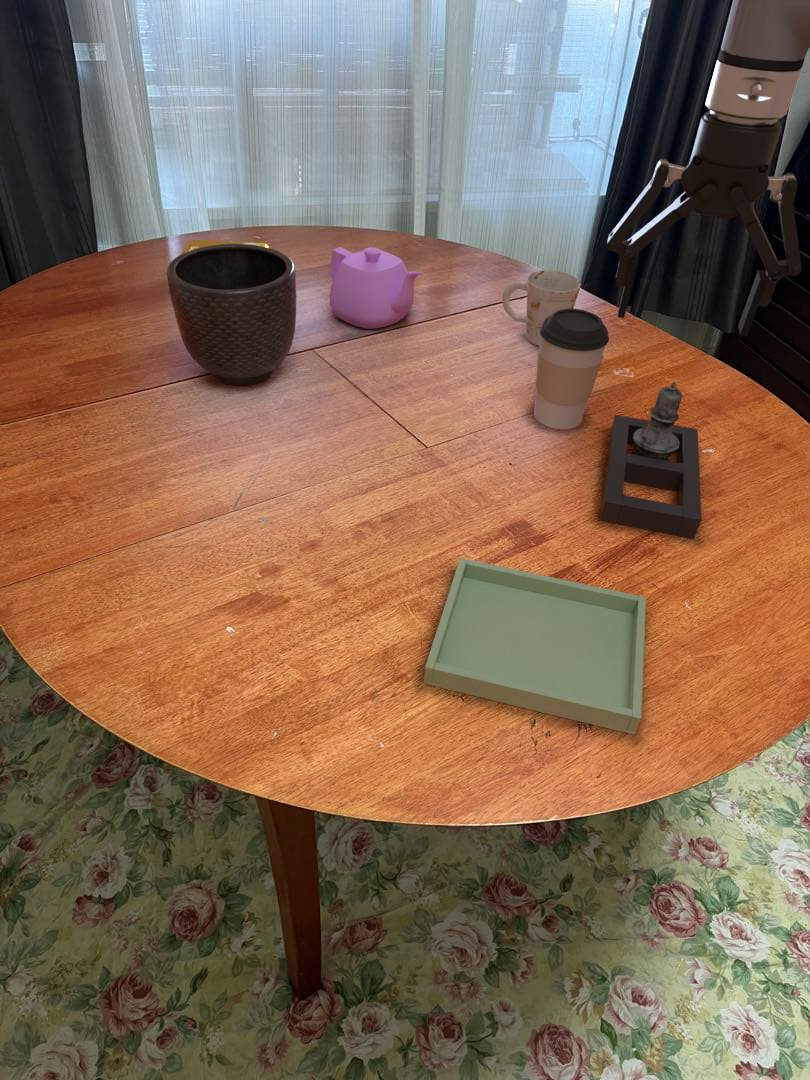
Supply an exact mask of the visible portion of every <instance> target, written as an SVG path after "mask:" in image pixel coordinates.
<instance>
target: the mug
mask: <svg viewBox="0 0 810 1080" xmlns="http://www.w3.org/2000/svg"><path fill="white" fill-rule="evenodd" d="M526 280H527V282H526V281H521V280H516V281H512V282H510V284H508V285H507V287H505V288H504V291H503V293H502V298H501V302H502V306H503V308H504V311H505V312H506V313H507V315H508V316H509V317H510V319H513V320H514V321H516V322H518V323H525V338H526V340H527V341H528V342H529V343H531V344H532V345H535V346H538V347H539V346H540V341H541V334H540V328H541V327H542V325H543V322H544V320H545V319H546V318H547V317H549V316H551V315H553V314H554V313H555V312H556V311H558V310H562V309H575V304H576V301H577V298H578V296H579V294H580V293H579V292H580V289H581V286H582V284H581V280H580V278H578V277H577V276H575V275H574V274H572V273H568V272H565V271H560V270H554V269H553V270H552V269H543V270H537V271H533V272H531V273H530V274H529V275H528V276H527V279H526ZM516 290H522V291H525V292H526V317H525V316H521V315H518V314H517V313H516V312H515V311H514V310H513V308H512V306H511V303H510V302H511V301H510V298H511V295H512V294H513V293H514V292H515V291H516Z"/></svg>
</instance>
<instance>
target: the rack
mask: <svg viewBox="0 0 810 1080" xmlns="http://www.w3.org/2000/svg"><path fill="white" fill-rule="evenodd" d="M649 421H650V420H647V419H642V418H637V417H636V418H635V417H630V416H626V415H619V414H614V416H613V421H612V425H611V427H610V432H609V439H608V447H607V455H606V463H605V474H604V481H603V488H602V489H603V490H602V498H601V505H600V506H601V507H600V514H599V521H600V522H604V523H609V524H614V525H620V526H625V527H630V528H635V529H640V530H645V531H650V532H656V533H660V534H665V535H670V536H677V537H680V538H686V539H691V540H694V539H696V536H697V532H698V530H699V527H700V525H701V522H702V501H701V499H702V498H701V479H700V478H701V477H700V475H701V474H700V453H699V452H700V451H699V433H698V432H699V429H698V428H694V427H688V426H682V425H677V424H674V426H673V429H672V434H673V435H675V436H676V437H677V439H678V440H679V444H680V445H679V448H678V449H677V450H676V451H674V453H676V455H675V457H676V461H671V460H668V461H666V460H660V459H655V458H649V457H644V456H638V455H633V454H632V453H628V452H627V450H628V445H633V446H634V439H633V435H634V433H635V432H636V431H637V430H638V429H641V428H645V427H647V426H648V424H649ZM625 483H631V484H634V485H635V484H636V485H641V486H645V487H652V488H658V489H662V490H668V491H672V492H676V504H674V503H668V502H663V501H659V500H658V501H657V500H653V499H652V500H651V499H648V498H643V497H638V496H632V495H626V494H624V487H625Z"/></svg>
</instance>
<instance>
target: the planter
mask: <svg viewBox="0 0 810 1080" xmlns="http://www.w3.org/2000/svg"><path fill="white" fill-rule="evenodd" d="M166 278H167V283H168V289H169V294H170V295H169V296H170V300H171V305H172V309H173V312H174V313H173V314H174V318H175V321H176V324H177V328H178V330H179V334H180V335H179V336H180V337H181V340H182V342H183V345H184V347H185V349H186V350H187V352H188V354H189V355H190V357H191V358H192V360H193V361H194V362H195V363H196V364H197V365H198V366H200V367H201V368H202V369H203V370H205V371H206V372H209V373H210V374H211V375H212V376H213V377H214V378H215V379H216V380H217V381H219V382H220V383H223V384H226V385H229V386H240V387H241V386H242V387H243V386H244V387H245V386H252V385H256V384H259V383H261V382H263V381H265V380H267V379H268V378H270V376H271V375H273V372H274V371H275V369H276V368H278V367H279V366H280V365H281V364H282V363H283V362H284V360H285V359H286V358H287V356H288V355H289V353H290V351H291V348H292V345H293V341H294V337H295V332H296V322H297V280H296V278H297V276H296V268H295V264H294V262H293V260H292V259H291V258H290V257H289V256H287V255H286V254H285V253H284V252H282V251H279V250H277V249H273V248H270V247H269V248H267V247H263V246H257V245H249V244H220V245H211V246H206V247H201V248H197V249H193V250H190V251H188V252H185V253H183V254H182V253H181V254H179V255H178V256H176V257H174V259H172V261H170V262H169V264H168V266H167V270H166Z"/></svg>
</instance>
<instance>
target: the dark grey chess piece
mask: <svg viewBox="0 0 810 1080" xmlns="http://www.w3.org/2000/svg"><path fill="white" fill-rule="evenodd" d="M682 399H683V394H682V391H681V390H680V389H679V388H677V384H676V381H673V382H671V383H670V385H668V386H667V385H666V386H664V387H663V386H662V387H661V389H659V391H658V393H657V396H656V400H655V403H654V406H653V407H652V408H651V409H650V410H649V415H650V418H649V420H648V421H649V424H648V426H647V427H645V428H641V429H638V430H637V431H636V432H635V433H634V435H633V439H634V445H633V446H634V450H635V451H633V452H631V454H633V455H638V456H644V457H649V458H655V459H660V460H666V461H669V460H668V459H670V458H671V457H672V456H673V455H674V454H675V452H674V451H676V450H677V449H678V448H679V445H680V444H679V440H678V439H677V437H676V436H675V435H673V434H672V429H673V426H674V425H675V423H676V422H678V420H679V419H680V415H679V413H678V412H679V408H680V405H681V402H682Z"/></svg>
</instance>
